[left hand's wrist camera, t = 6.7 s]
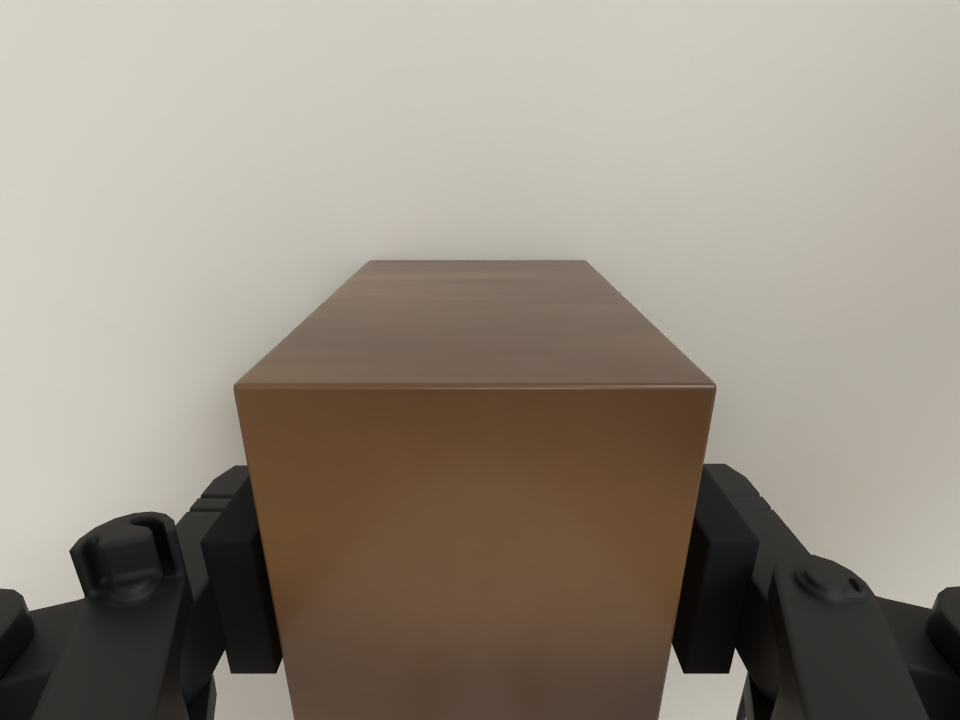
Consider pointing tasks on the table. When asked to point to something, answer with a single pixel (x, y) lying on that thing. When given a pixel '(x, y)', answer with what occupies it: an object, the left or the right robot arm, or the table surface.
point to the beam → (475, 494)
